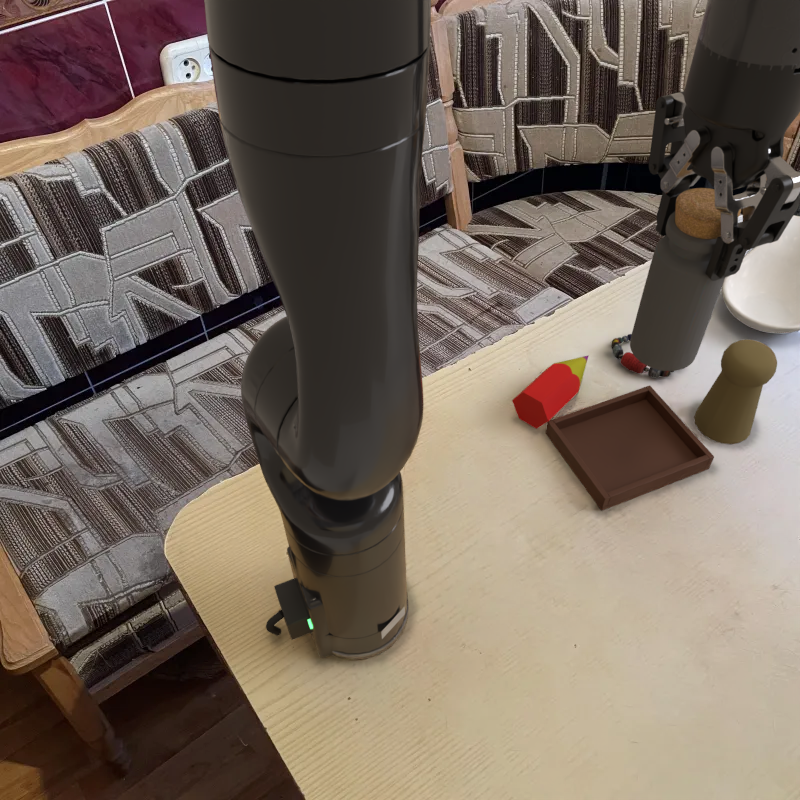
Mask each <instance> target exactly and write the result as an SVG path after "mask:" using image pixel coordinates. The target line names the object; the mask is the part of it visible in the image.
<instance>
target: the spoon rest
mask: <svg viewBox="0 0 800 800" xmlns="http://www.w3.org/2000/svg"><path fill="white" fill-rule="evenodd" d="M721 295H722V298H723V302H724V304H725V306H726V308H727V309H728V311H729V312H730V313H731V314H732V315H733V317H734V318H735V319H737V320H738V321H739V322H740V323H742V324H744V325H745V326H747V327H749V328H751V329H753V330H756V331H760V332H763V333H768V334H789V333H790V334H791V333H796V332H799V331H800V215H795V214H794V215H793V217H792V219H791V220H790V222H789V223H788V225H787V227H786V228H785V230H784V232H783V233H782V235H781V237H780V238H779V240H778V241H775V242H772V243H767V244H763V245H760V246H757V247H755V248H752V249H750V250H749V252H748V253H745V256H744V259H743V261H742V263H741V267H740V269H739V271H738V272H737V273H736V274H733V275H730V276H728V277H725V279H724V282H723V285H722V288H721Z"/></svg>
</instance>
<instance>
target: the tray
mask: <svg viewBox="0 0 800 800" xmlns="http://www.w3.org/2000/svg"><path fill="white" fill-rule="evenodd" d="M545 427H546V428H545V433H544V434H545V435H546V437H547V438H548V439H549V441H550V442H551V443H552V445H553V446H554V448H555V450H556V451H557V452H558V453H559V454H560V456H561V457H562V458H563V460H564V461H565V463H566V464H567V466H568V467H569V468H570V470H571V471H572V473H573V474H574V475H575V477H576V478H577V479H578V481H579V482H580V484H581V485H582V486H583V488H584V489H585V490H586V492H587V493H588V495H589V496H590V497H591V499H592V500H593V501H594V503H595V504H596V505H597V507H598V508H599V510H600V511H602V512H603V511H605V510H607V509H611V508H612V507H615V506H618V505H621V504H623V503H626V502H628V501H631V500H633V499H635V498H638V497H641V496H643V495H646V494H648V493H651V492H654V491H657V490H659V489H661V488H663V487H666V486H669V485H671V484H674V483H677V482H679V481H681V480H684V479H688V478H689V477H693V476H694V475H697V474H699V473H703V472H705V471H707V470H709V469H710V467H711V465H712V463H713V461H714V459H715V455H714V454H713V453H711V451H710V450H709V449H708V447H706V446H705V444H704V443H703V442H702V441H701V440H700V439H699V438H698V436H697V435H695V433H694V432H693V431H692V430H691V429H690V427H688V425H686V423H685V422H684V421H683V420H682V419H681V418H680V417H679V416H678V414H677V413H676V412H675V411H674V410H673V409H672V408H671V407H670V405H668V403H667V402H666V401H665V400H664V399H663V398H662V397H661V396H660V394H658V392H657V391H656V390H655V389H654V388H653V387H652V386H651V385H647V386H643V387H641V388H638V389H634V390H632V391H629V392H626V393H624V394H621V395H618V396H616V397H613V398H610V399H606V400H604V401H601V402H597V403H594V404H593V405H588V406H587V407H584V408H581V409H579V410H575V411H573V412H570V413H566V414H563V415H561V416H558V417H556V418H552V419H550V420H549V421H548V422H547V423H546V426H545Z"/></svg>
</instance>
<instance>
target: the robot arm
mask: <svg viewBox="0 0 800 800" xmlns="http://www.w3.org/2000/svg"><path fill="white" fill-rule="evenodd" d="M203 1H204V13H205V15H204V16H205V26H206V36H207V43H208V52H209V58H210V64H211V71H212V72H211V73H212V79H213V84H214V85H213V86H214V92H215V99H216V105H217V112H218V113H217V114H218V119H219V124H220V129H221V133H222V139H223V142H224V146H225V151H226V155H227V160H228V164H229V167H230V171H231V174H232V177H233V180H234V183H235V186H236V187H235V188H236V190H237V191H238V192H237V193H238V195H239V199H240V202H241V204H242V207H243V209H244V212H245V215H246V217H247V220H248V222H249V225H250V228H251V231H252V233H253V235H254V238H255V241H256V242H257V245H258V247H259V250H260V252H261V255H262V257H263V261H264V262H265V265H266V267H267V269H268V272H269V274H270V276H271V279H272V281H273V284H274V286H275V289H276V291H277V294H278V296H279V299H280V301H281V304H282V307H283V309H284V310H283V311H284V313H285V315H286V316H284V317H281V318H280V319H279V320H277V321H276V322H274V323H273V324H272V325H270V326H269V327H268V328H267V329H266V330H265V331H264V332H263V333H262V334H261V335H260V336H259V338H258V339H257V340H256V341H255V343H254V345H252V348H251V349H250V351H249V354H248V355H247V357H246V360H245V363H244V365H243V370H242V374H241V379H240V380H241V381H240V396H241V397H240V398H241V404H242V408H243V409H242V410H243V413H244V417H245V420H246V425H247V427H248V431H249V434H250V438H251V441H252V443H253V447H254V450H255V454H256V457H257V461H258V463H259V464H258V465H259V467H260V470H261V473H262V476H263V478H264V481H265V483H266V485H267V487H268V490H269V491H270V493H271V496H272V498H273V500H274V502H275V503H276V506H277V507H278V510H279V513H280V516H281V519H282V524H283V528H284V532H285V537H286V540H287V544H288V546H287V548H286V552H287V557H288V561H289V565H290V569H291V573H292V576H293V578H291V579H289V580H286V581H283V582H281V583H278V584H276V585H274V586H273V587H274V591H275V594H276V598H277V601H278V604H279V607H280V610H278V611H277V612H275V614H274V615H272V616H271V617H270V618H268V620H267V621H266V624H265V629H266V631H267V632H268V633H270V634H272V635H275V636H276V637H277V636H278V637H279V636H281V634H282V629H281V628H280V627H278V626H276V625H277V624H278V623H279V622H280V621H282V620H283V619H284V622H285V625H286V628H287V631H288V633H289V637H290V639H291V640H292V641H293V640H296V639H298V638H301V637H303V636H306V635H308V634H310V636H311V637H312V640H313V643H314V645H315V648H316V651H317V654H318V656H319V658H320V659H324V658H328V657H330V656H334V657H338V658H341V659H344V660H345V659H346V660H364V659H368V658H372V657H375V656H377V655H379V654H382V653H383V652H385V651H387V650H388V649H389V648H390V647H392V646H393V645H394V644H395V643H396V642H397V641H398V640H399V638H400V637H401V635H402V634H403V632H404V630H405V628H406V625H407V624H408V623H407V622H408V618H409V610H410V609H409V608H410V607H409V597H408V587H407V585H408V584H407V561H406V560H407V558H406V556H407V555H406V534H405V533H406V532H405V531H406V530H405V503H404V501H405V499H404V483H403V477H402V472H401V471H402V470H403V469H404V467H406V464H407V462H408V461H409V459H410V457H411V456H412V453H413V451H414V450H415V448H416V445H417V443H418V439H419V435H420V432H421V429H422V425H423V420H424V383H423V372H422V371H423V370H422V359H421V347H420V335H419V334H420V333H419V319H418V315H419V314H418V271H419V269H418V268H419V248H420V245H419V243H420V213H421V212H420V211H421V210H420V208H421V200H420V199H421V179H422V162H423V150H424V140H425V132H426V121H427V120H426V119H427V109H428V108H427V107H428V106H427V105H428V88H429V71H430V52H431V51H430V50H431V31H432V30H431V27H432V26H431V25H432V0H203ZM686 79H687V80H686V84H685V87H684V91H679V92H675V93H671V94H667V95H663V96H659V97H658V98H657V100H656V102H655V104H656V105H655V110H654V119H653V127H652V134H651V135H652V136H651V143H650V152H649V159H648V170H649V172H650V174H652V175H658V176H659V178H660V183H659V185H660V189H661V191H662V193H661V197H660V201H659V206H658V208H657V209H658V210H657V213H656V226H655V231H656V232H657V233H658V234H659V235H660V236H661V237H665V236H666V235H667V234H666V225H667V221H668V218H669V216H670V215H671V214H672V213H673V212H675V210H676V199H677V197H678V196H679V194H681V193H682V192H684V191H686V190H689V189H691V188H690V187H693V186H694V185H695V184H696V183H697V182H698V181H699V180H700V179H701V178H705V179H706V180H707V181H708V182H709V184H710V185H711V187H713V188H714V190H715V208H716V209H717V210H719V211H720V213H721V236H720V237H717V240H716V243H715V246H714V249H713V252H712V255H711V258H710V261H709V264H708V267H707V270H706V273H705V275H706V276H707V277H708V278H709V279H711V280H712V281H716V280H719V279H722V278H725V277H728V276H730V275H733V274H736V273H737V272H738V271H739V269H740V267H741V263H742V261H743V259H744V256H745V255H746V254H747V251H750V250H752V249H753V248H755V247H757V246H760V245H763V244H767V243H772V242H775V241H778V240H779V238H780V237H781V235H782V233H783V232H784V230H785V228H786V227H787V225H788V223H789V222H790V220H791V219H792V217H793V215H795V214H796V212H797V210H798V209H799V207H800V170H799V171H796V169H794V168H793V167H792V166H791V165H790V164H789V163H788V162H787V161H786V160H785V159H784V158H783V157H784V152H785V151H784V141H785V140H784V139H785V134H786V132H787V130H788V129H789V127H790V126H791V125H792V123H793V122H794V121H795V119H796V118H798V116H799V114H800V0H707V1H706V4H705V8H704V14H703V15H702V20H701V24H700V29H699V32H698V36H697V40H696V43H695V48H694V52H693V56H692V59H691V63H690V67H689V71H688V74H687V78H686ZM669 144H670V150H669V154H666V150H667V146H668V145H669ZM745 187H746V189H745V190H744V191H743V192H742V193H738V194H735V195H733V194H734V193H733V192H734V190H737V189H741V188H745ZM740 209H741V210H742V221H740V222H739V217H738V212H739V210H740Z"/></svg>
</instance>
